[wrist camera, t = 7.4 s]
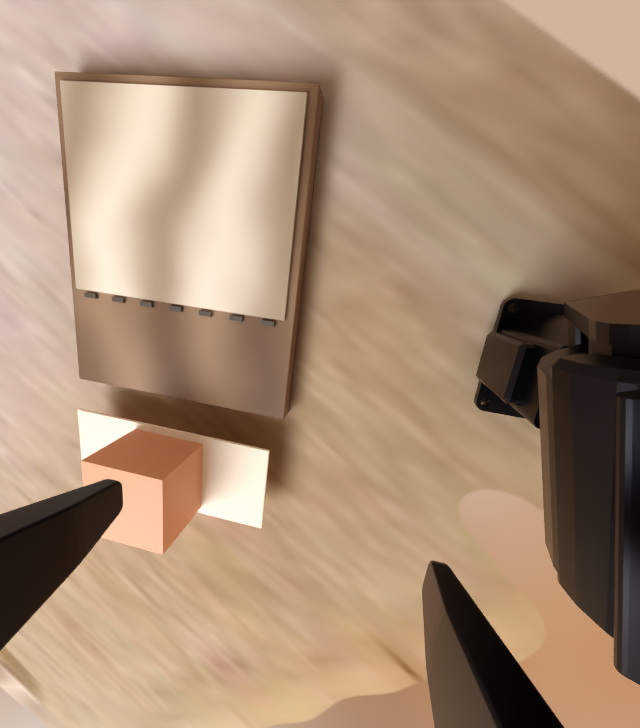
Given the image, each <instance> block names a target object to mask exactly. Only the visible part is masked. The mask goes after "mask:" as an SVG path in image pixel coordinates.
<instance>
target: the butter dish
mask: <svg viewBox="0 0 640 728" xmlns="http://www.w3.org/2000/svg"><path fill="white" fill-rule="evenodd" d="M78 422H79V433H80V445H81V456H82V460H81V466H82V478H83V487H84V486H87V485H90V484H93V483H96V482H99V481H102V480H105V479H112V480H116V481H119V482H121V484H122V488H123V508H122V510H121V512H120V514H119V515H118V516H117V517H116V519H115V520H114V521H113V523H112V524H111V525H110V526H109V528H108V529H107V530H106V531H105V533H104V534H103V535H102V537H101V538H105V539H109V540H112V541H116V542H119V543H123V544H126V545H130V546H133V547H137V548H141V549H144V550H148V551H151V552H155V553H158V554H162V555H163V554H164V553H165V552H166V550H167V549H168V548H169V547H170V545H171V544H172V543H173V542H174V540H175V539H176V538H177V537H178V535H179V534H180V533H181V532H182V530H183V529H184V528H185V527H186V525H187V524H188V523H189V522H190V520H191V519H192V518H193V517H194V515H195V514H196V513H197V512H199V513H203V514H207V515H210V516H214V517H218V518H222V519H226V520H230V521H234V522H238V523H242V524H246V525H250V526H254V527H258V528H262V524H263V514H264V504H265V494H266V483H267V473H268V463H269V453H270V450H268V449H264V448H259V447H255V446H250V445H245V444H241V443H236V442H232V441H227V440H222V439H218V438H213V437H208V436H204V435H199V434H195V433H190V432H185V431H181V430H176V429H172V428H167V427H162V426H158V425H153V424H149V423H144V422H139V421H135V420H130V419H126V418H121V417H116V416H112V415H107V414H103V413H98V412H93V411H89V410H84V409H78Z"/></svg>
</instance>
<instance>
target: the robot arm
mask: <svg viewBox="0 0 640 728" xmlns="http://www.w3.org/2000/svg"><path fill="white" fill-rule="evenodd" d="M512 303H513V304H514V305H515V309H514V311H512V312H509V310H508V307H509V305H510V304H512ZM476 376H477V377H478V379H479V384H478V388H477V391H476V395H475V398H474V403H475V405H476V406H477V407H478V408H479V409H480V410H483V411H488V412H493V413H499V414H504V415H510V416H515V417H521V418H526V419H527V420H528V421H529V422H530V423H532V424H533V425H534V426H535V427H537V428H539V429H540V436H541V458H542V479H543V501H544V521H545V522H544V523H545V542H546V545H547V548H548V551H549V554H550V557H551V560H552V563H553V566H554V567H555V569H556V571H557V572H558V581H559V583H560V585H561V586H562V587H563V589H564V590H565V591H566V592H567V594H568V595H569V596H570V597H571V599H572V600H573V601H574V602H575V604H576V605H577V606H578V607H579V608H580V609H581V610H582V611H583V612H585V613H586V614H587V615H588V616H589V617H590V618H591V619H592V620H593V621H594V622H595V623H597V624H598V625H599V626H600V627H601V628H602V629H603V630H604V631H605V632H606V633H608V634H609V635H610V636H612V637H613V638H614V666H615V668H616V669H617V670H618V671H619V672H620V673H621V674H622V675H624V676H625V677H627V678H628V679H630V680H632V681H634V682H636V683H637V684H639V685H640V290H634V291H628V292H622V293H616V294H610V295H604V296H598V297H592V298H586V299H580V300H574V301H568V302H565V305H562V304H554V303H547V302H539V301H531V300H524V299H516V298H509V299H506V300H505V301H504V302H502V304H501V306H500V310H499V313H498V317H497V320H496V324H495V327H494V331H492V332H491V333H489V334H488V335H487V338H486V342H485V345H484V349H483V352H482V356H481V360H480V363H479V367H478V370H477V374H476ZM483 399H488V401H487V403H486V404H481V401H482V400H483ZM122 508H123V488H122V484H121V482H119V481H116V480H112V479H105V480H102V481H99V482H96V483H93V484H90V485H87V486H84V487H81V488H78V489H75V490H72V491H69V492H66V493H63V494H60V495H57V496H54V497H51V498H48V499H45V500H42V501H39V502H36V503H33V504H30V505H27V506H24V507H21V508H18V509H15V510H12V511H9V512H6V513H3V514H0V651H1V649H2V648H3V647H4V646H5V645H6V644H7V643H8V642H9V641H10V640H11V639H12V637H13V636H14V635H15V634H16V633H17V632H18V631H19V630H20V629H21V628H22V627H23V625H24V624H25V623H26V622H27V621H28V620H29V619H30V618H31V617H32V616H33V615H34V613H35V612H36V611H37V610H38V609H39V608H40V607H41V606H42V605H43V604H44V603H45V601H46V600H47V599H48V598H49V597H50V596H51V595H52V594H53V593H54V592H55V591H56V589H57V588H58V587H59V586H60V585H61V584H62V583H63V582H64V581H65V580H66V579H67V577H68V576H69V575H70V574H71V573H72V572H73V571H74V570H75V569H76V567H77V566H78V565H79V564H80V563H81V562H82V560H83V559H84V558H85V557H86V556H87V554H88V553H89V552H90V551H91V549H92V548H93V547H94V545H95V544H96V543H97V542H98V540H99V539H100V538H101V537H102V535H103V534H104V533H105V531H106V530H107V529H108V528H109V526H110V525H111V524H112V523H113V521H114V520H115V519H116V517H117V516H118V515H119V514H120V512H121V510H122ZM422 598H423V617H424V636H425V654H426V669H427V677H428V684H429V691H430V698H431V705H432V712H433V719H434V726H435V728H564V727H563V725H562V724H561V722H560V721H559V720H558V718H557V717H556V715H555V714H554V713H553V711H552V710H551V708H550V707H549V706H548V704H547V703H546V701H545V700H544V699H543V697H542V696H541V694H540V693H539V692H538V690H537V689H536V687H535V686H534V685H533V683H532V682H531V680H530V679H529V678H528V676H527V675H526V673H525V672H524V671H523V669H522V668H521V667H520V665H519V664H518V662H517V661H516V659H515V658H514V657H513V655H512V654H511V652H510V651H509V650H508V648H507V647H506V646H505V644H504V643H503V641H502V640H501V639H500V637H499V636H498V634H497V633H496V632H495V630H494V629H493V627H492V626H491V625H490V623H489V622H488V620H487V619H486V618H485V616H484V615H483V613H482V612H481V611H480V609H479V608H478V606H477V605H476V604H475V602H474V601H473V599H472V598H471V597H470V595H469V594H468V592H467V591H466V590H465V588H464V587H463V585H462V584H461V583H460V581H459V580H458V578H457V577H456V576H455V574H454V573H453V571H452V570H451V569H450V567H449V566H448V565H447V564H445V563H441V562H437V561H430V563H429V565H428V568H427V572H426V575H425V579H424V583H423V589H422Z"/></svg>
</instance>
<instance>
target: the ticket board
mask: <svg viewBox="0 0 640 728" xmlns="http://www.w3.org/2000/svg"><path fill="white" fill-rule="evenodd" d="M55 81H56V93H57V106H58V118H59V130H60V142H61V155H62V167H63V179H64V191H65V204H66V216H67V228H68V241H69V253H70V265H71V277H72V290H73V302H74V314H75V326H76V339H77V351H78V363H79V376H80V379H85V380H90V381H95V382H100V383H105V384H110V385H115V386H120V387H125V388H130V389H135V390H140V391H145V392H150V393H154V394H159V395H164V396H169V397H174V398H179V399H184V400H189V401H194V402H199V403H204V404H209V405H214V406H219V407H224V408H229V409H234V410H239V411H244V412H249V413H254V414H259V415H264V416H268V417H273V418H278V419H284V417H285V416H286V414H287V413H288V412H289V403H290V394H291V385H292V376H293V367H294V358H295V349H296V340H297V331H298V322H299V313H300V304H301V295H302V286H303V277H304V268H305V259H306V250H307V241H308V232H309V223H310V214H311V205H312V196H313V187H314V178H315V169H316V160H317V151H318V142H319V133H320V124H321V116H322V107H323V96H322V92H321V89H320V85H319V83H303V82H281V81H258V80H235V79H213V78H190V77H167V76H145V75H122V74H99V73H77V72H55Z"/></svg>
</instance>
